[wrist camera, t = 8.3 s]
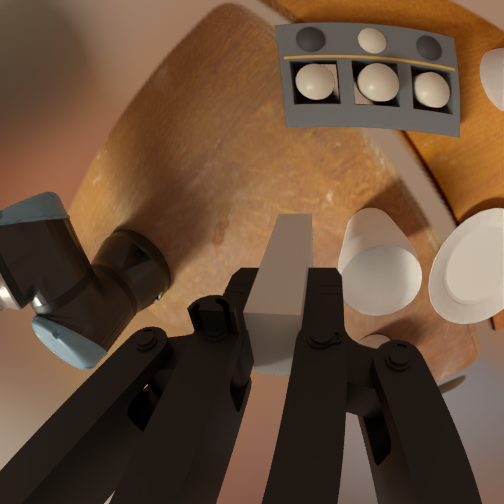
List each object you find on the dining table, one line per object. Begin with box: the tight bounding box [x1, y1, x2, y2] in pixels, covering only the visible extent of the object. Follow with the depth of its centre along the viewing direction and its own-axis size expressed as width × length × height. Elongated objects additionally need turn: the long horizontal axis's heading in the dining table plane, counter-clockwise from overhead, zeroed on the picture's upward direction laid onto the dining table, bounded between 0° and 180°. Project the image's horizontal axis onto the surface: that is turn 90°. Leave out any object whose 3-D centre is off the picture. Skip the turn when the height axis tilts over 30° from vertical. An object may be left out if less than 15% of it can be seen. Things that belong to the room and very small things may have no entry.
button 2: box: [356, 63, 399, 101], centre depth 23 cm, size 4×4×4 cm
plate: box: [428, 208, 504, 324], centre depth 32 cm, size 21×21×2 cm
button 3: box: [412, 72, 450, 108], centre depth 23 cm, size 4×4×4 cm
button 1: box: [296, 64, 335, 100], centre depth 26 cm, size 4×4×4 cm
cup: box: [338, 208, 422, 316], centre depth 31 cm, size 9×9×12 cm
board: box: [275, 22, 460, 138], centre depth 24 cm, size 20×12×4 cm, turn 96°
